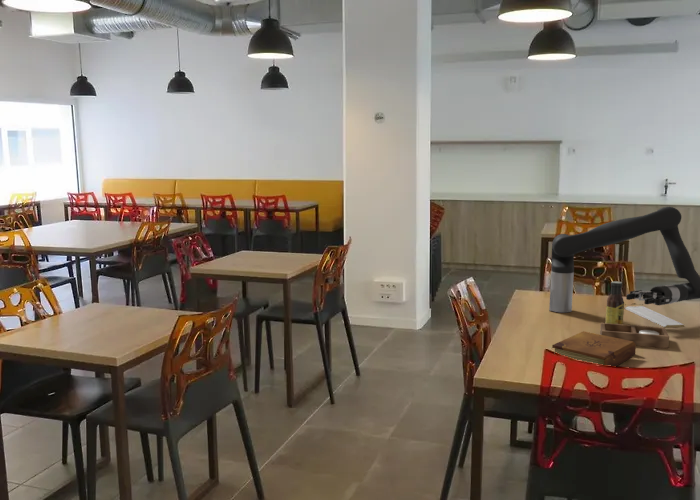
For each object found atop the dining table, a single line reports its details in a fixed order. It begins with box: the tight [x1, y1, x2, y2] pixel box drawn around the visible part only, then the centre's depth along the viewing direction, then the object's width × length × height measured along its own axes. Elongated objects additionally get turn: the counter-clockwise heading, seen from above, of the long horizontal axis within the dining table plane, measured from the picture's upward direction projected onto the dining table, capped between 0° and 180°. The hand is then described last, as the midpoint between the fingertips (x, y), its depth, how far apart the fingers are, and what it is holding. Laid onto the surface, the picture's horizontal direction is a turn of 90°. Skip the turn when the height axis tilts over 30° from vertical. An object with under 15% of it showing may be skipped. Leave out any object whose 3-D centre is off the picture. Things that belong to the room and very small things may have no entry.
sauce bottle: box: [604, 280, 625, 324], centre depth 250 cm, size 7×6×20 cm
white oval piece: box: [639, 330, 659, 335], centre depth 237 cm, size 7×7×4 cm
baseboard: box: [624, 303, 685, 328], centre depth 274 cm, size 30×3×10 cm
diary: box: [551, 330, 637, 367], centre depth 222 cm, size 23×19×6 cm
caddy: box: [599, 322, 670, 349], centre depth 239 cm, size 22×12×5 cm, turn 71°
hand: (636, 299), depth 254 cm, fingers open, 8 cm apart
